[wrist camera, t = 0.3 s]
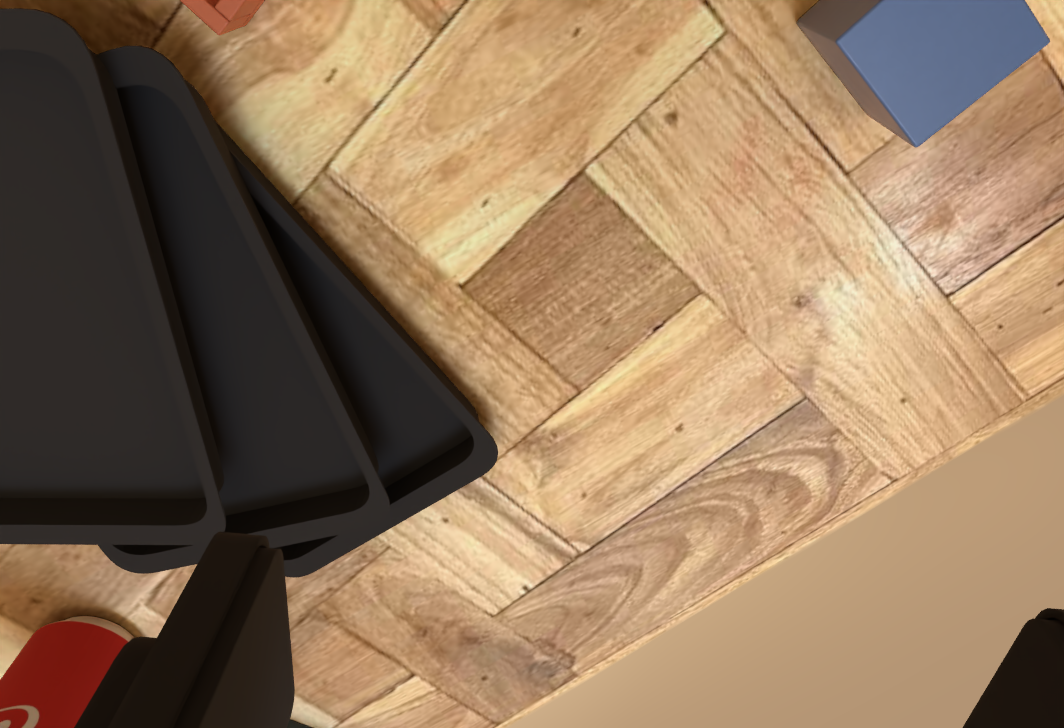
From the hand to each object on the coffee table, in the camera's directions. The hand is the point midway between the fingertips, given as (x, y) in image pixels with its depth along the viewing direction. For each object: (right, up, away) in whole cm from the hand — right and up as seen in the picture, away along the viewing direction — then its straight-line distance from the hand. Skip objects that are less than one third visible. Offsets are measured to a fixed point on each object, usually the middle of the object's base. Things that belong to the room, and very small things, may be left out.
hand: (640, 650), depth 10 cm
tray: (-18, +6, +23) cm, 30 cm away
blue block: (+11, +15, +16) cm, 25 cm away
